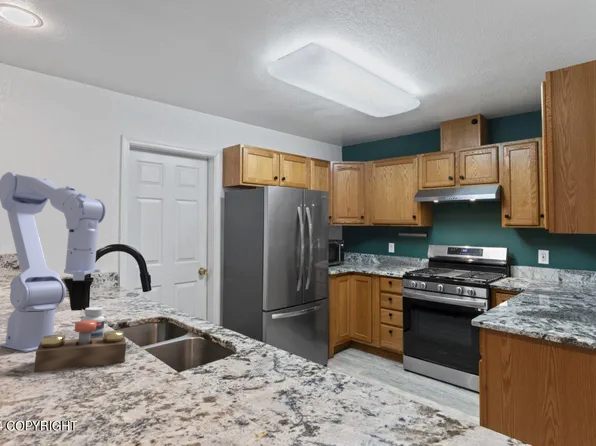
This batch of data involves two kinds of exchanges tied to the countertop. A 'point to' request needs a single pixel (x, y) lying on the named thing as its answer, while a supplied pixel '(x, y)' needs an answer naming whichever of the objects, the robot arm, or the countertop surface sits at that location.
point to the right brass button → (112, 336)
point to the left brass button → (53, 341)
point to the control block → (79, 354)
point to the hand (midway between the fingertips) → (76, 310)
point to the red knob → (85, 331)
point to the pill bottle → (95, 315)
